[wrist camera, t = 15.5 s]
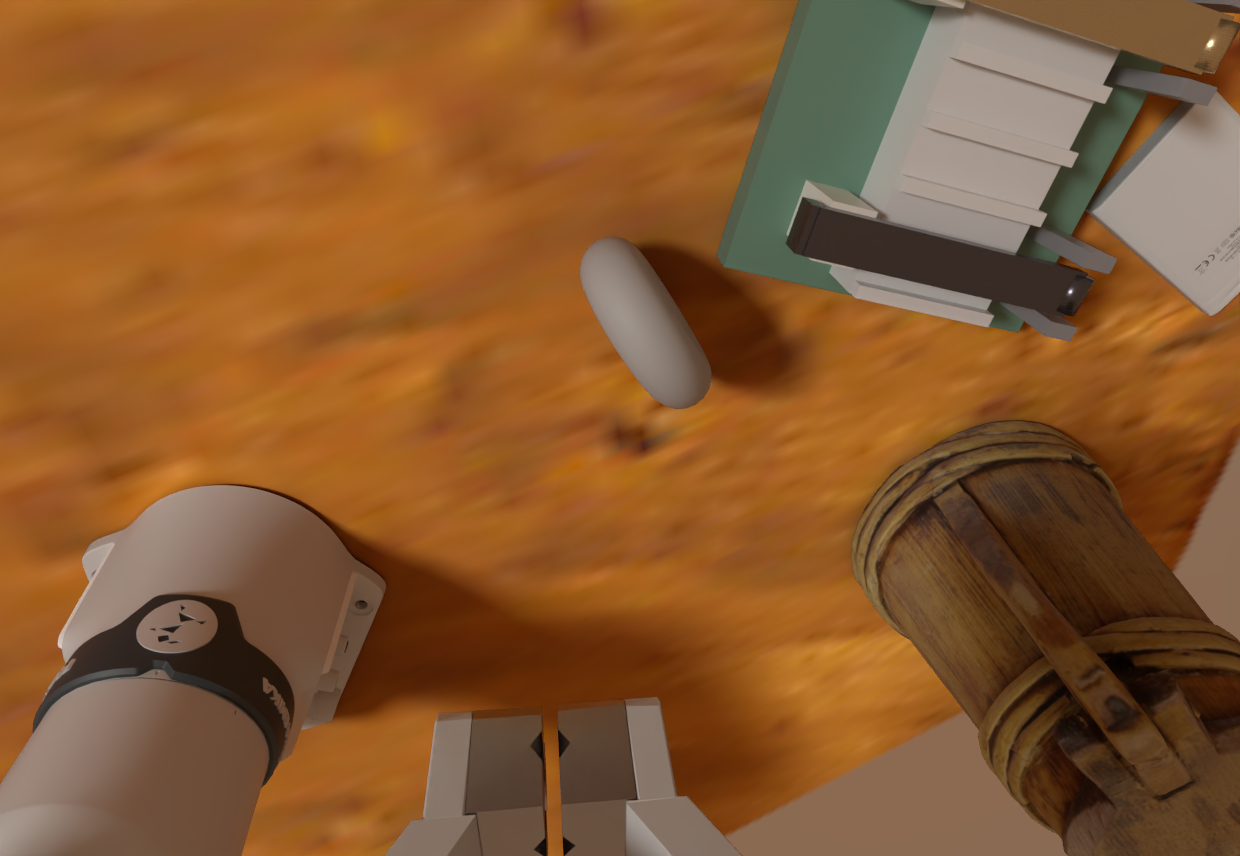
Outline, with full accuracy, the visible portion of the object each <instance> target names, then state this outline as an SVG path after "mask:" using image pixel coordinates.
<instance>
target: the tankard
mask: <svg viewBox="0 0 1240 856" xmlns="http://www.w3.org/2000/svg"><path fill="white" fill-rule="evenodd" d="M851 560H852V567H853V571H854V575H855V579H856V580H857V582H858V583H859V584H860V585H861V587H862V588H863V590H864V592H865V595H866V597H867V598H868V599H869V601H870V602H871V603H872V604H873V606H874V607H875V608H876V609H877V611H878V612H879V614H880V615H881V617H882V618H883V619H884V620H885V621H886V622H887V623H888V624H889V625H890V626H891V627H892V628H893V629H894V630H896V631H897V632H898V633H900V634H901V635H903V636H904V637H906V638H907V639H909V640H911V642H912V643H913V644H914V646H915V647H916V648H917V650H918V651H919V652H920V653H921V655H922V656H923V657H924V659H925V660H926V661H927V663H928V664H929V665H930V667H931V668H932V669H933V671H934V672H935V673H936V675H937V676H938V677H939V678H940V680H941V681H942V682H943V684H944V685H945V686H946V687H947V689H948V690H949V691H950V693H951V694H952V695H953V697H954V698H955V699H956V700H957V702H958V703H959V704H960V706H961V707H962V708H963V710H964V711H965V712H966V714H967V715H968V716H969V717H970V719H971V720H972V722H973V723H974V724H975V726H976V727H977V728H978V730H979V734H978V739H979V743H980V748H981V753H982V756H983V758H984V759H985V761H986V763H987V765H988V766H989V768H990V769H991V770H992V771H993V773H994V774H995V775H996V776H997V777H998V779H999V780H1000V781H1001V782H1002V784H1003V785H1004V787H1005V788H1006V789H1007V791H1008V792H1009V794H1010V795H1011V796H1012V797H1013V798H1014V799H1015V800H1016V801H1018V803H1019V804H1020V805H1021V806H1022V807H1023V809H1024V810H1025V811H1026V812H1027V814H1028V815H1029V816H1030V817H1031V818H1032V819H1033V820H1035V821H1036V822H1037V823H1039V824H1040V825H1042V826H1043V827H1045V828H1046V829H1048V830H1050V831H1052V832H1054V833H1056V834H1058V835H1059V836H1060V837H1061V839H1062V841H1063V847H1064V851H1065V853H1066V854H1067V855H1068V856H1240V642H1239V640H1238V639H1237V638H1236V637H1234V636H1233V635H1232V634H1230V633H1229V632H1227V631H1226V630H1224V629H1222V628H1221V627H1219V626H1217V625H1214V624H1213V623H1212V621H1210V619H1209V618H1208V617H1207V615H1206V614H1205V613H1204V612H1203V610H1202V609H1201V608H1200V607H1199V605H1198V604H1197V603H1196V601H1195V600H1194V599H1193V598H1192V597H1191V595H1190V594H1189V593H1188V591H1187V590H1186V589H1185V588H1184V587H1183V585H1182V584H1181V583H1180V581H1179V580H1178V579H1177V578H1176V577H1175V575H1174V574H1173V573H1172V572H1171V571H1170V569H1169V568H1168V567H1167V566H1166V565H1165V564H1164V562H1163V561H1162V560H1161V559H1160V557H1159V556H1158V555H1157V553H1156V552H1155V551H1154V549H1153V548H1152V547H1151V546H1150V544H1149V543H1148V542H1147V541H1146V539H1145V538H1144V537H1143V536H1142V534H1141V533H1140V532H1139V531H1138V529H1137V528H1136V527H1135V526H1134V524H1133V523H1132V522H1131V520H1130V519H1129V518H1128V517H1127V515H1126V514H1125V513H1124V511H1123V503H1122V500H1121V498H1120V496H1119V494H1118V491H1117V489H1116V487H1115V484H1114V483H1113V482H1112V480H1111V479H1110V478H1109V477H1108V475H1107V474H1106V473H1105V472H1104V471H1103V470H1102V468H1101V467H1100V466H1099V465H1098V463H1097V462H1096V461H1095V460H1094V459H1093V458H1092V457H1091V456H1090V455H1089V454H1088V453H1087V452H1086V451H1085V450H1084V449H1083V448H1082V447H1081V446H1080V445H1079V444H1078V443H1076V442H1075V441H1073V440H1072V439H1070V438H1069V437H1067V436H1066V435H1064V434H1062V433H1061V432H1059V431H1057V430H1055V429H1053V428H1052V427H1050V426H1046V425H1043V424H1040V423H1033V422H1025V421H1001V422H994V423H987V424H983V425H980V426H976V427H973V428H970V429H968V430H965V431H962V432H959V433H957V434H955V435H953V436H951V437H949V438H947V439H945V440H943V441H941V442H939V443H937V444H935V445H934V446H933V447H932V448H930V449H928V450H927V451H925V452H924V453H922V454H921V455H919V456H917V457H915V458H913V459H912V460H910V461H909V462H907V463H906V464H905V465H902V466H899V467H898V468H897V469H896V470H895V471H894V472H893V473H892V474H891V475H890V476H889V477H888V478H887V479H886V481H885V482H884V483H883V485H882V486H881V487H880V488H879V489H878V490H877V492H876V493H875V494H874V496H873V497H872V499H871V500H870V502H869V503H868V505H867V506H866V508H865V509H864V512H863V514H862V516H861V518H860V521H859V523H858V525H857V528H856V531H855V534H854V537H853V540H852V546H851Z"/></svg>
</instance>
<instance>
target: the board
mask: <svg viewBox="0 0 1240 856" xmlns="http://www.w3.org/2000/svg"><path fill="white" fill-rule="evenodd" d="M1187 1H1190V2H1193V3H1195V4H1198V5H1201V6H1204V7H1207V8H1210V9H1213V10H1216V11H1218V12H1225V13H1238V14H1240V0H1187ZM1163 66H1164V65H1163V64H1160V63H1156V62H1153V61H1150V60H1147V59H1144V58H1141V57H1138V56H1135V55H1132V54H1129V53H1126V52H1122V51H1119V50H1116V49H1113V48H1110V47H1107V46H1104V45H1101V44H1098V43H1095V42H1092V41H1088V40H1085V39H1082V38H1079V37H1076V36H1073V35H1070V34H1067V33H1064V32H1061V31H1058V30H1054V29H1051V28H1048V27H1045V26H1042V25H1039V24H1036V23H1033V22H1030V21H1027V20H1024V19H1020V18H1017V17H1014V16H1011V15H1008V14H1005V13H1002V12H999V11H996V10H993V9H990V8H986V7H983V6H980V5H977V4H974V3H971V2H968V1H965V0H799V2H798V5H797V8H796V12H795V15H794V18H793V21H792V24H791V27H790V30H789V33H788V36H787V39H786V42H785V45H784V49H783V52H782V55H781V58H780V61H779V64H778V67H777V70H776V73H775V76H774V79H773V82H772V85H771V89H770V92H769V95H768V98H767V101H766V104H765V107H764V110H763V113H762V116H761V119H760V122H759V126H758V129H757V132H756V135H755V138H754V141H753V144H752V147H751V150H750V153H749V156H748V159H747V163H746V166H745V169H744V172H743V175H742V178H741V181H740V184H739V187H738V190H737V193H736V196H735V200H734V203H733V206H732V209H731V212H730V215H729V218H728V221H727V224H726V227H725V230H724V233H723V237H722V240H721V243H720V246H719V249H718V252H717V257H718V259H719V260H720V262H721V263H722V265H723V266H724V267H726V268H731V269H735V270H740V271H744V272H749V273H753V274H758V275H762V276H767V277H771V278H776V279H780V280H785V281H789V282H794V283H798V284H803V285H807V286H811V287H816V288H820V289H825V290H829V291H834V292H838V293H843V294H847V295H852V296H854V297H855V298H858V299H863V300H867V301H872V302H876V303H881V304H885V305H889V306H894V307H898V308H903V309H907V310H912V311H916V312H921V313H925V314H930V315H934V316H939V317H943V318H948V319H952V320H957V321H961V322H966V323H970V324H975V325H979V326H984V327H989V326H990V327H995V328H999V329H1004V330H1008V331H1013V332H1017V333H1018V332H1019V330H1020V328H1021V326H1022V324H1023V323H1024V321H1025V322H1026V323H1027V324H1029V325H1030V326H1032V327H1033V328H1034V329H1036V330H1037V331H1038V332H1040V333H1041V334H1043V335H1044V336H1048V337H1052V338H1056V339H1061V340H1065V341H1071V339H1072V337H1073V335H1074V334H1075V332H1076V330H1077V329H1078V328H1077V327H1076V326H1074V325H1073V324H1071V323H1070V322H1068V321H1067V320H1065V319H1064V318H1062V317H1061V316H1058V315H1054V314H1050V313H1045V312H1041V311H1037V310H1032V309H1028V308H1024V307H1020V306H1015V305H1011V304H1007V303H1002V302H998V301H994V300H989V299H985V298H981V297H976V296H972V295H968V294H964V293H959V292H955V291H951V290H946V289H942V288H938V287H933V286H929V285H925V284H920V283H916V282H912V281H908V280H903V279H899V278H895V277H890V276H886V275H882V274H877V273H873V272H869V271H864V270H860V269H856V268H852V267H847V266H843V265H839V264H834V263H830V262H826V261H821V260H817V259H813V258H809V257H804V256H802V255H798V254H794V252H793V251H792V250H791V249H790V248H789V247H788V246H787V245H786V244H785V243H786V241H787V238H788V235H789V233H790V230H791V227H792V224H793V222H794V219H795V216H796V213H797V211H798V208H799V205H800V202H801V200H802V197H806V198H810V199H814V200H818V201H819V202H820V203H821V204H823V205H825V206H829V207H833V208H837V209H841V210H845V211H849V212H853V213H857V214H861V215H865V216H869V217H873V218H877V219H881V220H885V221H889V222H893V223H897V224H901V225H905V226H909V227H913V228H917V229H921V230H925V231H929V232H933V233H937V234H941V235H945V236H949V237H953V238H957V239H961V240H965V241H969V242H973V243H977V244H981V245H985V246H989V247H993V248H998V249H1002V250H1006V251H1010V252H1014V253H1018V254H1022V255H1026V256H1030V257H1034V258H1038V259H1042V260H1046V261H1050V262H1054V263H1056V262H1057V260H1058V258H1059V256H1060V255H1061V256H1062V257H1064V258H1066V259H1068V260H1070V261H1071V262H1073V263H1075V264H1077V265H1079V266H1080V267H1082V268H1086V269H1090V270H1094V271H1098V272H1102V273H1106V274H1110V272H1111V270H1112V269H1113V267H1114V265H1115V263H1116V262H1117V260H1118V259H1116V258H1114V257H1112V256H1110V255H1108V254H1106V253H1104V252H1102V251H1100V250H1098V249H1096V248H1094V247H1092V246H1090V245H1088V244H1086V243H1084V242H1082V241H1080V240H1078V239H1076V238H1074V237H1073V236H1071V234H1072V233H1073V231H1074V229H1075V227H1076V225H1077V223H1078V222H1079V220H1080V218H1081V216H1082V214H1083V212H1084V211H1085V209H1086V207H1087V205H1088V203H1089V201H1090V200H1091V198H1092V196H1093V194H1094V192H1095V190H1096V189H1097V187H1098V185H1099V183H1100V181H1101V179H1102V178H1103V176H1104V174H1105V172H1106V170H1107V168H1108V167H1109V165H1110V163H1111V161H1112V159H1113V157H1114V156H1115V154H1116V152H1117V150H1118V148H1119V146H1120V145H1121V143H1122V141H1123V139H1124V137H1125V135H1126V134H1127V132H1128V130H1129V128H1130V126H1131V124H1132V123H1133V121H1134V119H1135V117H1136V115H1137V113H1138V112H1139V110H1140V108H1141V106H1142V104H1143V102H1144V101H1145V99H1146V97H1147V95H1148V94H1152V95H1157V96H1162V97H1167V98H1171V99H1176V100H1181V101H1185V102H1190V103H1195V104H1200V105H1204V106H1208V104H1209V102H1210V101H1211V99H1212V97H1213V96H1214V94H1215V92H1216V90H1217V89H1218V88H1217V87H1214V86H1211V85H1208V84H1205V83H1202V82H1199V81H1195V80H1192V79H1189V78H1183V77H1178V76H1172V75H1166V74H1161V73H1160V71H1161V69H1162V67H1163Z"/></svg>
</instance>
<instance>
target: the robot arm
mask: <svg viewBox="0 0 1240 856" xmlns="http://www.w3.org/2000/svg"><path fill="white" fill-rule="evenodd" d="M82 563H83V567H84V570H85V572H86V575H87V577H88V580H89V584H88V586H87V588H86V589H85V591H84V593H83V594H82V596H81V598H80V600H79V601H78V603H77V605H76V607H75V608H74V610H73V612H72V614H71V615H70V617H69V619H68V621H67V622H66V624H65V626H64V628H63V630H62V631H61V633H60V636H59V639H58V647H60V648H61V649H62V653H63V657H64V660H65V662H66V665H65V666H64V667H63V668H62V669H61V671H59V672H58V673H57V675H56V676H55V678H54V679H53V681H52V683H51V684H50V686H49V687H48V690H47V691H46V693H45V696H44V698H43V702H42V704H41V705H40V707H39V709H38V711H37V713H36V715H35V719H34V722H33V734H32V736H31V738H30V739H29V741H28V742H27V744H26V745H25V747H24V748H23V750H22V751H21V753H20V755H19V756H18V758H17V759H16V761H15V762H14V764H13V765H12V767H11V769H10V770H9V772H8V773H7V775H6V776H5V778H4V779H3V781H2V782H1V784H0V856H242V852H243V849H244V845H245V841H246V838H247V834H248V831H249V827H250V824H251V820H252V817H253V814H254V810H255V807H256V804H257V800H258V797H259V794H260V791H261V788H262V787H263V786H264V785H265V784H266V783H267V781H268V780H269V779H270V777H271V776H272V774H273V772H274V770H275V769H276V767H277V766H278V764H279V762H281V761H283V760H285V759H286V758H288V757H289V756H290V755H291V754H292V752H293V749H294V747H295V744H296V741H297V739H298V736H299V733H300V731H301V730H302V729H308V728H312V727H315V726H318V725H322V724H324V723H328V722H332V719H333V716H334V713H335V710H336V707H337V704H338V702H339V699H340V697H341V695H342V692H343V690H344V688H345V685H346V683H347V681H348V678H349V676H350V674H351V671H352V669H353V667H354V664H355V662H356V660H357V657H358V655H359V653H360V650H361V648H362V646H363V643H364V641H365V639H366V636H367V634H368V631H369V629H370V627H371V624H372V622H373V620H374V617H375V615H376V613H377V610H378V608H379V606H380V603H381V601H382V599H383V596H384V594H385V591H386V583H385V581H384V580H383V578H382V577H381V576H379V575H378V574H377V573H376V572H374V571H373V570H372V569H370V568H368V567H367V566H365V565H364V564H362V563H361V562H359V561H357V560H356V559H355V558H354V557H353V556H352V555H351V554H350V553H349V552H348V551H347V549H346V548H345V546H344V545H343V544H342V542H341V541H340V539H339V538H338V537H337V535H336V534H335V533H334V532H333V531H332V530H331V529H330V527H329V526H327V525H326V524H325V523H324V522H323V521H322V520H321V519H320V518H318V517H317V516H316V515H314V514H313V513H312V512H310V511H309V510H307V509H305V508H304V507H302V506H300V505H298V504H297V503H295V502H293V501H290V500H288V499H286V498H284V497H281V496H279V495H276V494H273V493H270V492H266V491H263V490H258V489H254V488H248V487H242V486H231V485H212V486H201V487H195V488H190V489H186V490H182V491H179V492H176V493H173V494H171V495H168V496H166V497H164V498H162V499H160V500H159V501H157V502H155V503H154V504H152V505H151V506H150V507H148V508H147V509H146V510H145V511H144V512H143V513H142V514H141V515H140V516H139V517H138V518H137V519H136V520H135V521H134V522H133V523H132V524H131V525H130V526H129V527H127V528H126V529H124V530H122V531H119V532H116V533H113V534H110V535H108V536H105V537H102V538H100V539H98V540H96V541H94V542H93V543H91V544H90V545H89V547H88V548H87V550H86V552H85V554H84V556H83V558H82ZM360 600H362V601H365V602H360ZM557 708H558V740H559V767H560V790H561V813H562V835H563V853H564V856H742V855H741V854H740V853H739V852H738V851H737V850H736V848H735V847H734V846H733V845H732V844H731V843H730V842H729V841H728V840H727V838H726V837H725V836H724V835H723V834H722V833H721V832H720V831H719V830H718V829H717V828H716V826H715V825H714V824H713V823H712V822H711V821H710V820H709V819H708V818H707V817H706V816H705V814H704V813H703V812H702V811H701V810H700V809H699V808H698V807H697V806H696V805H695V804H694V802H693V801H692V800H691V799H690V798H689V797H688V796H677V791H676V786H675V780H674V775H673V769H672V763H671V758H670V752H669V747H668V741H667V735H666V730H665V724H664V719H663V713H662V707H661V702H660V701H659V699H658V697H648V698H635V699H625V700H624V701H623V699H614V700H603V701H592V702H581V703H570V704H559V705H557ZM546 811H547V782H546V758H545V743H544V732H543V715H542V707H536V708H517V709H497V710H477V711H463V712H448V713H438V716H437V719H436V722H435V726H434V734H433V742H432V750H431V758H430V766H429V773H428V781H427V789H426V797H425V805H424V813H423V819H418V820H412V821H411V822H410V824H409V825H408V826H407V827H406V829H405V830H404V831H403V833H402V834H401V835H400V836H399V838H398V839H397V840H396V842H395V843H394V844H393V846H392V847H391V848H390V849H389V851H388V852H387V853H386V855H385V856H548V833H547V816H546Z"/></svg>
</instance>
